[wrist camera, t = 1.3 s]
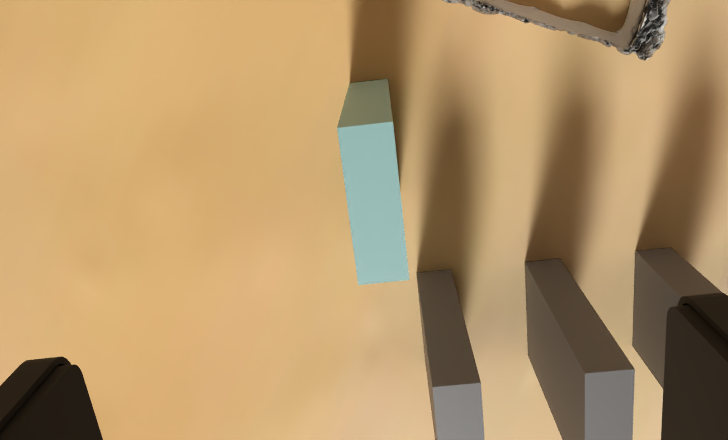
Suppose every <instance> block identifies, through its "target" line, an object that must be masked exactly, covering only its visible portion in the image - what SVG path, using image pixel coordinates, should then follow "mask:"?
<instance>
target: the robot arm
mask: <svg viewBox="0 0 728 440" xmlns="http://www.w3.org/2000/svg"><path fill="white" fill-rule="evenodd" d="M0 440H103V439H102V435H101V432H100V429H99V426H98V423H97V419H96V416H95V413H94V410H93V407H92V403H91V400H90V397H89V394H88V391H87V387H86V384H85V381H84V378H83V374H82V372H81V370H80V368H79V367H78V366H77V365H71V363H70V362H69V361H68V360H67V359H66V358H64V357H55V358H44V359H34V360H27V361H25V362H23V363H22V364H21V365H20V366H19V367H18V368H17V369H16V370H15V371H14V372H13V373H12V374H11V375H10V376H9V377H8V378H7V379H6V381H5V382H4V383H3V384H2V385H1V386H0ZM661 440H728V296H727V295H726V294H724V293H711V294H700V295H690V296H683V297H681V298H680V300H679V302H678V305H677V306H674V307H670V308H669V309H668V312H667V320H666V342H665V365H664V387H663V409H662V432H661Z"/></svg>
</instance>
